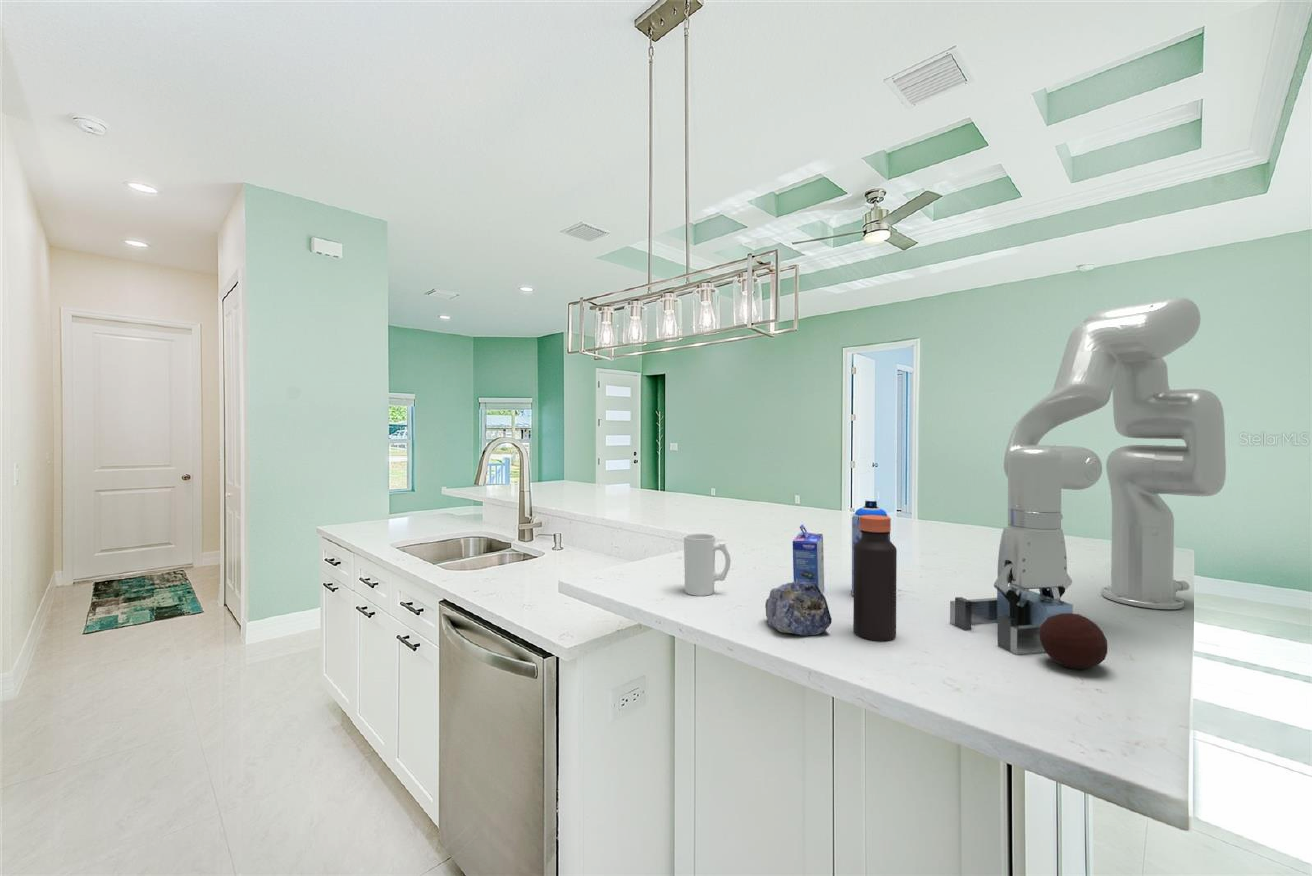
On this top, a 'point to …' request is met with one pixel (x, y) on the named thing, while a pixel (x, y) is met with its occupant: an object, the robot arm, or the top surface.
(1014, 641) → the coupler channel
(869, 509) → the aerosol can
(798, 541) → the ink cartridge box
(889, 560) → the bottle
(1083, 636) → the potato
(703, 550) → the mug
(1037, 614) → the lock block
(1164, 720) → the top surface
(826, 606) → the rock
